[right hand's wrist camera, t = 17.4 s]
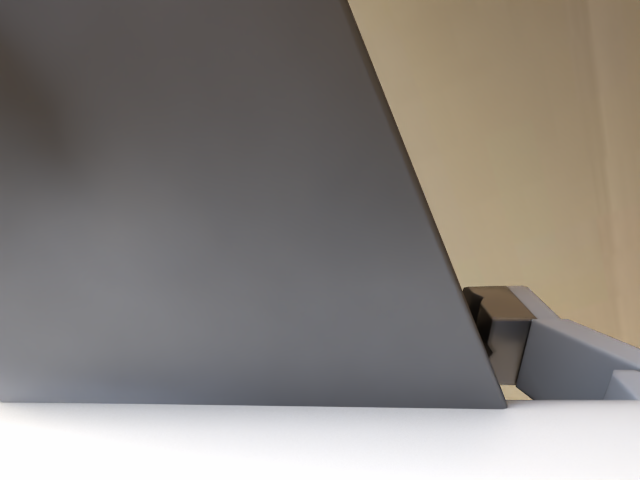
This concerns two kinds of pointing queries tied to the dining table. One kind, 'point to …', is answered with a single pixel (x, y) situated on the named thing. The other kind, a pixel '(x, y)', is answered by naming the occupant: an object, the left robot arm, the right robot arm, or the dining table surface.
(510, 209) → the dining table surface
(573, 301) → the dining table surface
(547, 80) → the dining table surface
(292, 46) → the bar
